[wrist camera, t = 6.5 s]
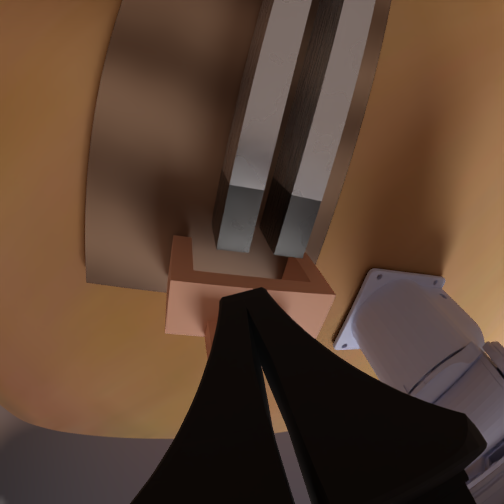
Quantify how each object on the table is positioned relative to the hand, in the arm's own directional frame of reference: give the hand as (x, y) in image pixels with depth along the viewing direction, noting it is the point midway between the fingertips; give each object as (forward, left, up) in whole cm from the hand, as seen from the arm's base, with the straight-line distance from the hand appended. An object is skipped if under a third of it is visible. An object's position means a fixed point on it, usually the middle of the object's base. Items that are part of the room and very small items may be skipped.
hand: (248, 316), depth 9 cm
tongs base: (-2, -9, -8) cm, 13 cm away
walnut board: (0, -7, -9) cm, 12 cm away
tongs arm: (0, -7, -8) cm, 11 cm away
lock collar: (-2, +3, -8) cm, 9 cm away
